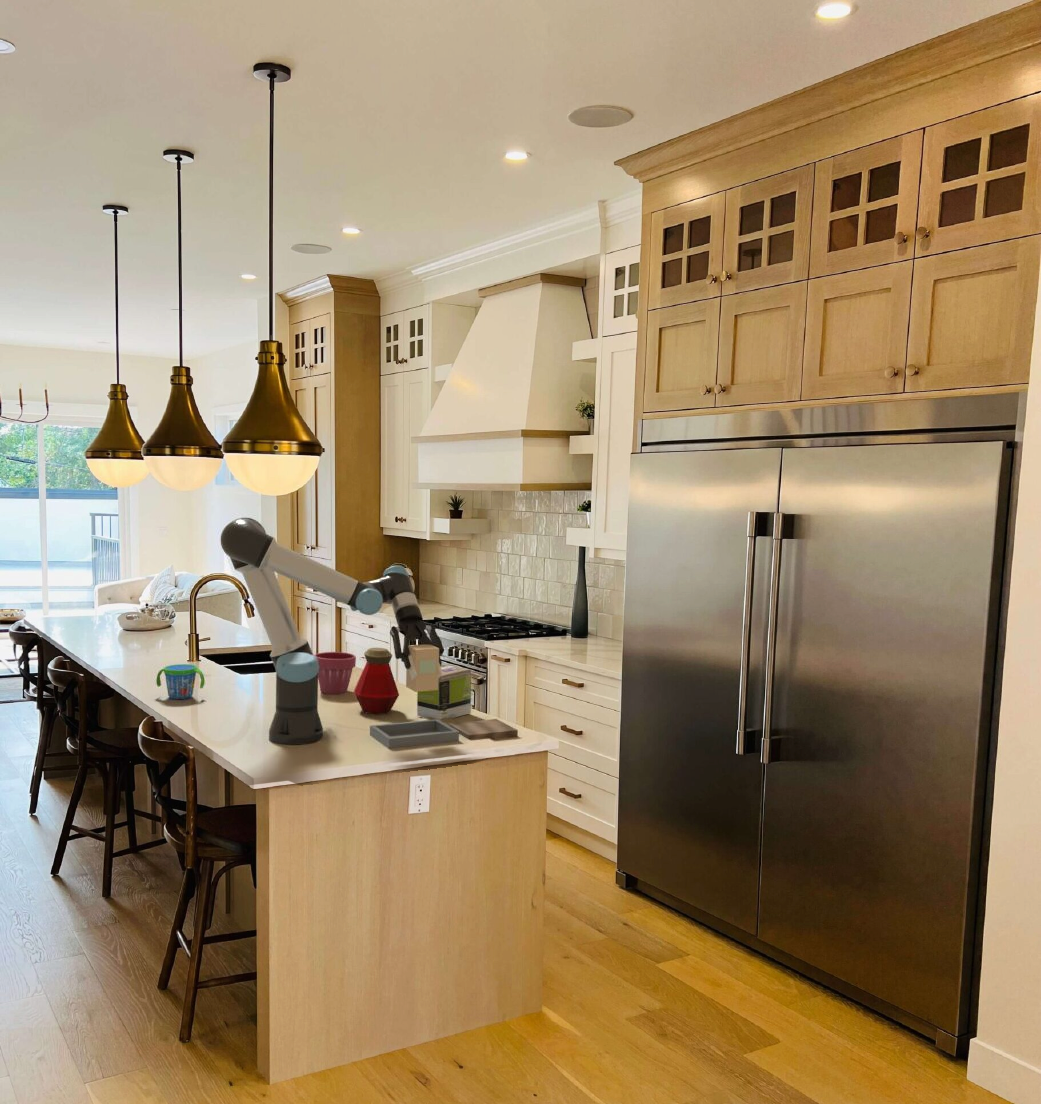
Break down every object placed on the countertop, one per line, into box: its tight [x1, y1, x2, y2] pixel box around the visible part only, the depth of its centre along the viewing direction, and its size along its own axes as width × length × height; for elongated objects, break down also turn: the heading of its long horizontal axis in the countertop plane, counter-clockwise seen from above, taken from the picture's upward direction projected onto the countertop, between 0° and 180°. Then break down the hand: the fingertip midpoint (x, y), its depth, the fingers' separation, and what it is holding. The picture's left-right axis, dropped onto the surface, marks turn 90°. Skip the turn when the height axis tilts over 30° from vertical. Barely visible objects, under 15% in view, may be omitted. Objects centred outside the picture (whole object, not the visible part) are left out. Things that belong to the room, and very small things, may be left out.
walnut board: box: [448, 718, 519, 740], centre depth 287 cm, size 16×14×2 cm
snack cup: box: [155, 663, 205, 700], centre depth 318 cm, size 16×10×10 cm
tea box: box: [416, 665, 472, 721], centre depth 307 cm, size 15×10×15 cm, turn 141°
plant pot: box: [313, 651, 357, 695], centre depth 335 cm, size 14×14×13 cm
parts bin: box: [369, 718, 460, 750], centre depth 277 cm, size 21×15×4 cm
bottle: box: [353, 647, 400, 715], centre depth 309 cm, size 16×14×20 cm
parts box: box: [405, 644, 439, 693], centre depth 276 cm, size 7×7×12 cm
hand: (427, 676), depth 273 cm, fingers closed on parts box, 7 cm apart
